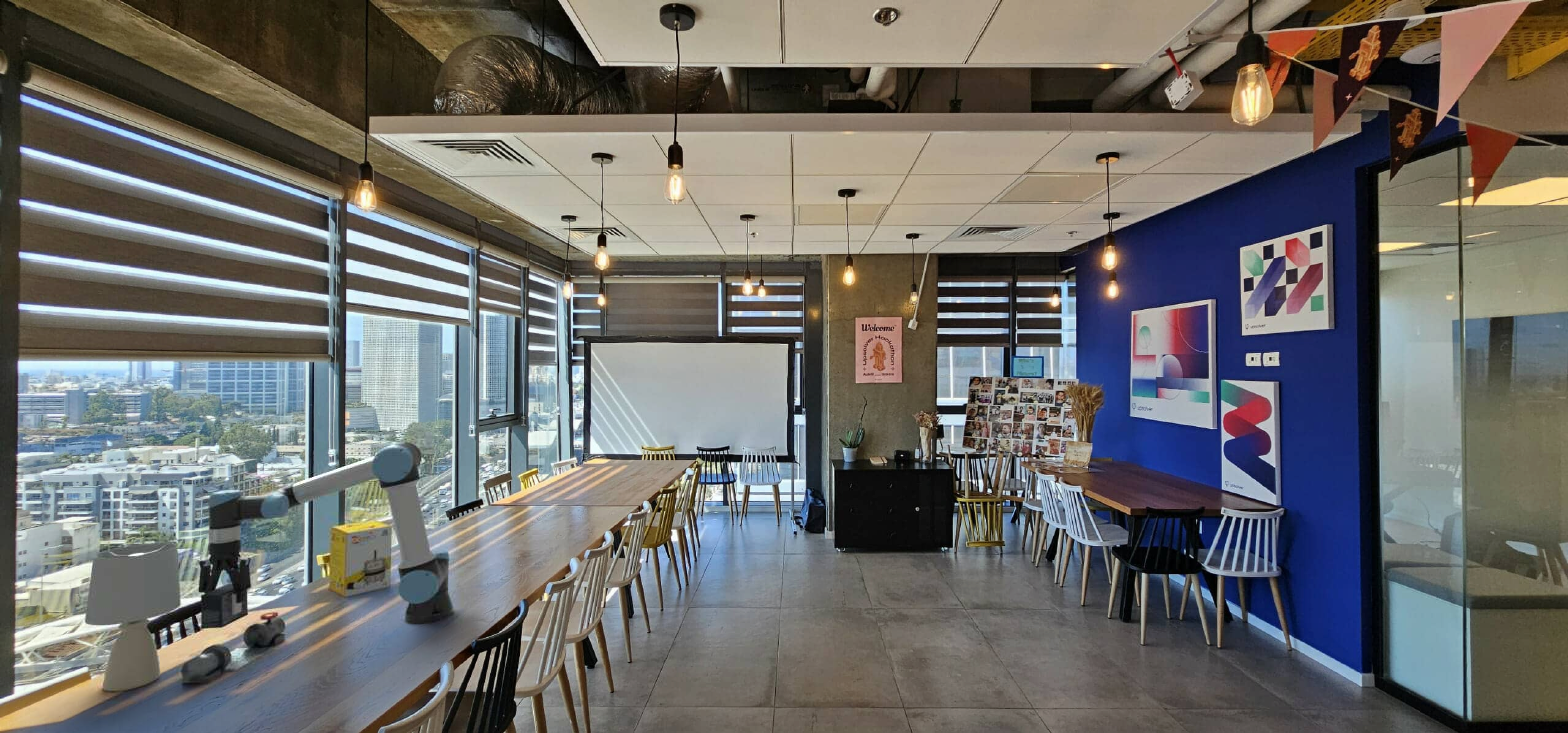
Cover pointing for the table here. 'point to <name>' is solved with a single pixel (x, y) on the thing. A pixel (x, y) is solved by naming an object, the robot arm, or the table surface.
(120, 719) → the table surface
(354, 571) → the packaging box
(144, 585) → the lamp
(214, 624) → the small box
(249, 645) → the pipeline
